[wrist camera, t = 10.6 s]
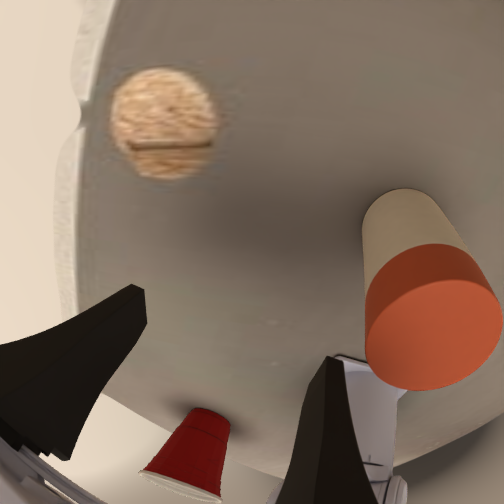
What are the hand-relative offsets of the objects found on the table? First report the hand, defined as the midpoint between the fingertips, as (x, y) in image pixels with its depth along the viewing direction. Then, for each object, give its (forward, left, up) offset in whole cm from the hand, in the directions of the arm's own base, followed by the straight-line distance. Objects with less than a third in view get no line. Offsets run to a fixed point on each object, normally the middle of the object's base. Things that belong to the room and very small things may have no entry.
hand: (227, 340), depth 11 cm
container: (+2, -7, -10) cm, 12 cm away
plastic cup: (-32, +2, -10) cm, 34 cm away
